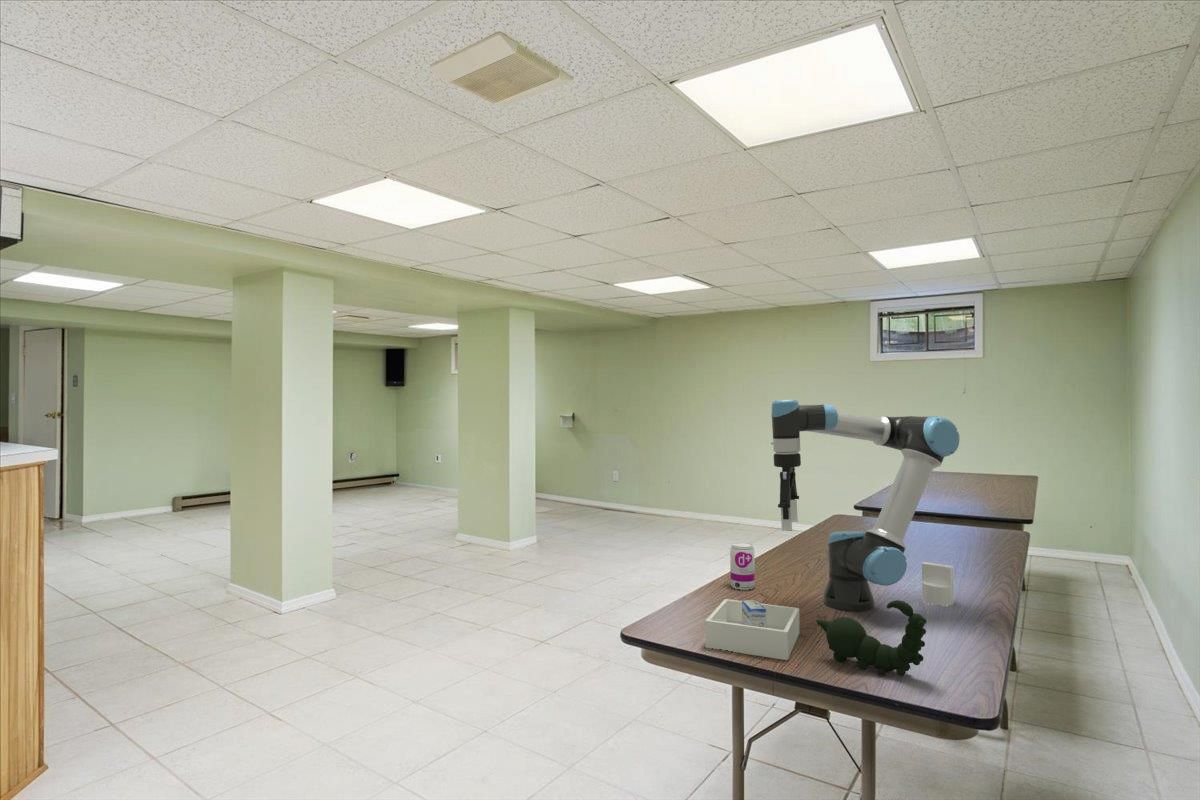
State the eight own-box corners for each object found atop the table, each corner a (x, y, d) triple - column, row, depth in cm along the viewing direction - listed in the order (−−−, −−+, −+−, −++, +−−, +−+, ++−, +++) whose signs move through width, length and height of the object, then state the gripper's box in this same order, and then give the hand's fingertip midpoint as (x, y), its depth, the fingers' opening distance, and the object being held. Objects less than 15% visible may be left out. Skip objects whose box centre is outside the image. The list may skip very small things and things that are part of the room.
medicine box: (741, 631, 179) (741, 600, 179) (757, 630, 179) (756, 599, 179) (750, 641, 171) (750, 609, 171) (766, 641, 171) (766, 608, 171)
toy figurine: (924, 681, 152) (820, 647, 168) (931, 602, 151) (826, 575, 167) (913, 695, 145) (806, 658, 161) (921, 612, 144) (812, 583, 160)
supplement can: (755, 591, 221) (754, 547, 221) (730, 590, 222) (730, 546, 223) (754, 585, 229) (754, 542, 229) (730, 583, 230) (730, 541, 231)
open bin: (799, 633, 180) (799, 608, 180) (787, 660, 161) (787, 632, 161) (725, 623, 189) (724, 599, 189) (705, 647, 170) (705, 620, 170)
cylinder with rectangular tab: (957, 601, 208) (956, 564, 208) (949, 608, 202) (948, 569, 202) (927, 596, 214) (926, 560, 214) (918, 602, 208) (918, 565, 208)
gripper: (779, 449, 200) (782, 517, 200) (766, 457, 177) (770, 534, 177) (804, 448, 197) (807, 518, 197) (795, 456, 174) (798, 535, 174)
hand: (789, 526), depth 187 cm, fingers open, 13 cm apart
